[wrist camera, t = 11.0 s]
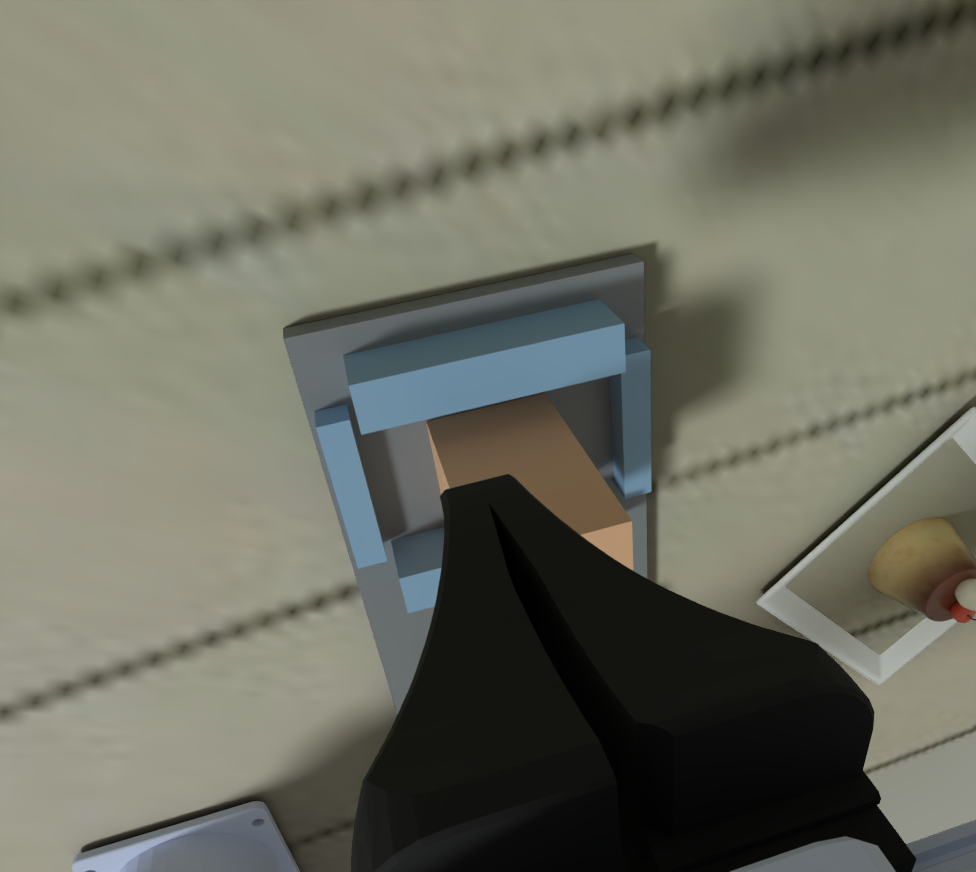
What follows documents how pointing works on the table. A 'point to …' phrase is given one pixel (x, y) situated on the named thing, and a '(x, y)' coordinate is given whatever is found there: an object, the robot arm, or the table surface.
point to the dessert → (896, 578)
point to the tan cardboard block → (533, 466)
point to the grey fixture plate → (461, 388)
